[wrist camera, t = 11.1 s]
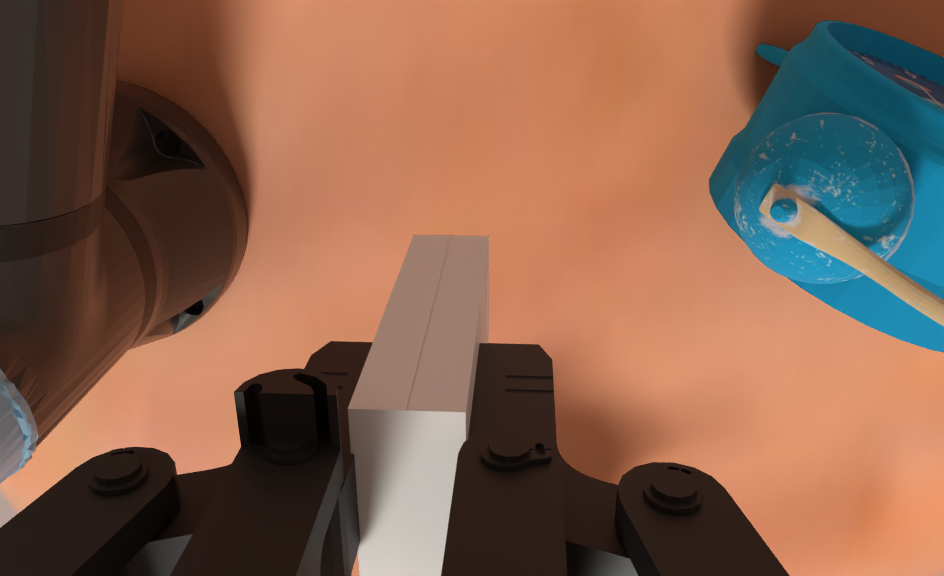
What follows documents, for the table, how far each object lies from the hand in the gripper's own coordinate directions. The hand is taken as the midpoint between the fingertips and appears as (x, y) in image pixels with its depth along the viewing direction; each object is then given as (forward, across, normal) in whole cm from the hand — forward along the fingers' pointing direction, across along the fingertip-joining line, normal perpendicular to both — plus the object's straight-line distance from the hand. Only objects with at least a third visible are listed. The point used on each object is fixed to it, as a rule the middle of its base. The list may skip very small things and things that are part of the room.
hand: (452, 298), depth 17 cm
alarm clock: (+30, +18, -3) cm, 35 cm away
